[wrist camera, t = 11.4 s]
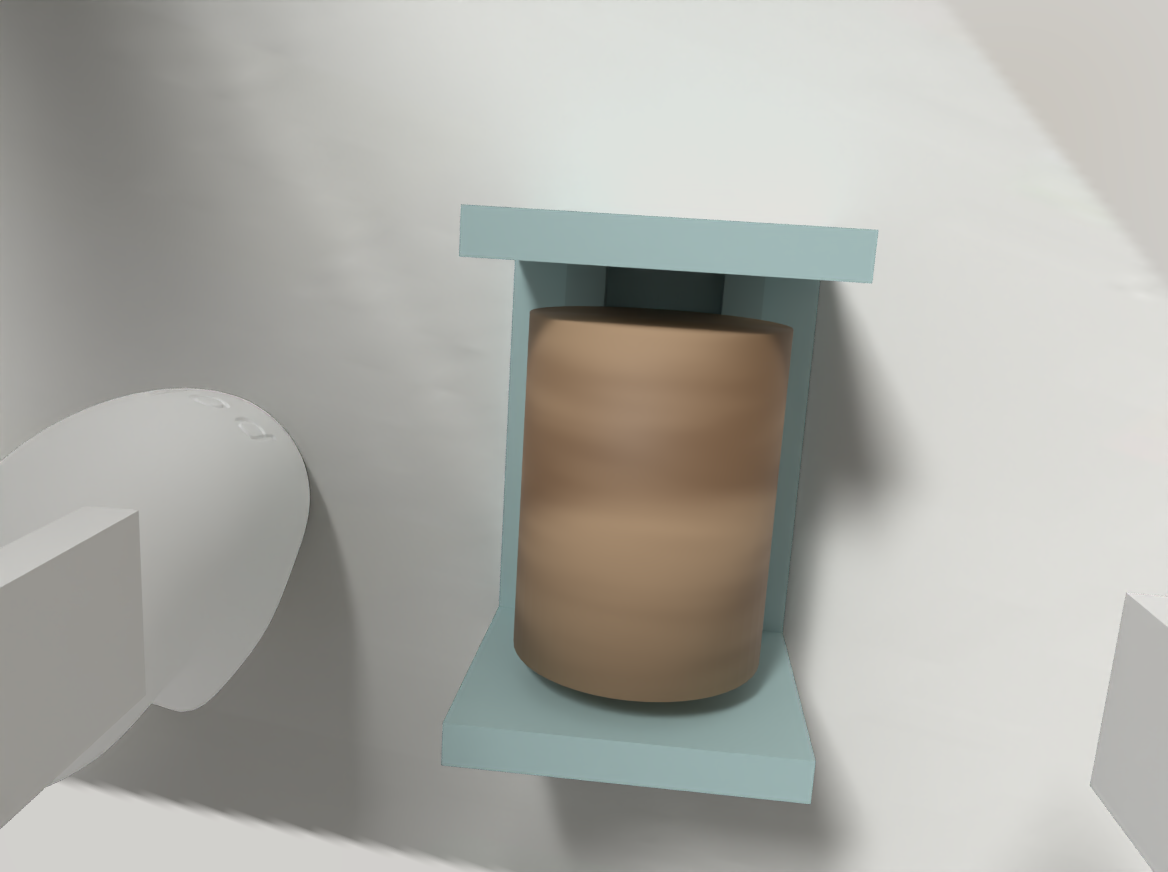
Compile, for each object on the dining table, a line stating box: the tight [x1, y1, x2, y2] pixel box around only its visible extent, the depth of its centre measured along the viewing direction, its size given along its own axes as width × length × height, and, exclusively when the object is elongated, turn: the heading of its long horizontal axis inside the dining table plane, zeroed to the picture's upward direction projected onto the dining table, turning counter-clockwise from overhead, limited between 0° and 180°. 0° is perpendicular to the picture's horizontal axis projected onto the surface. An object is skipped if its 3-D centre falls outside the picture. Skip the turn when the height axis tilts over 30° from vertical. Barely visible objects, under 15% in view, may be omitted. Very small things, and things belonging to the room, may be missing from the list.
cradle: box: [441, 204, 878, 804], centre depth 24 cm, size 12×8×8 cm, turn 177°
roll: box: [513, 306, 793, 702], centre depth 24 cm, size 8×6×6 cm
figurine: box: [0, 388, 310, 787], centre depth 24 cm, size 7×8×12 cm
